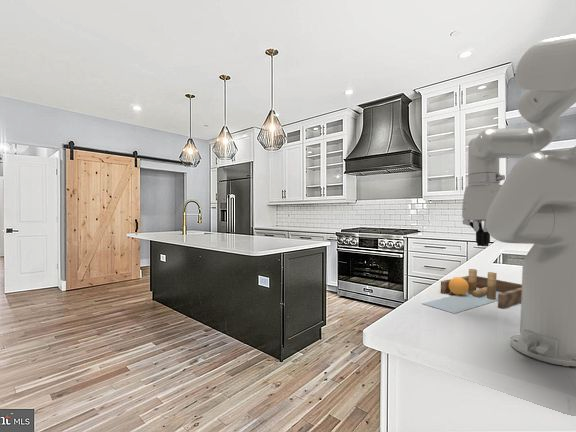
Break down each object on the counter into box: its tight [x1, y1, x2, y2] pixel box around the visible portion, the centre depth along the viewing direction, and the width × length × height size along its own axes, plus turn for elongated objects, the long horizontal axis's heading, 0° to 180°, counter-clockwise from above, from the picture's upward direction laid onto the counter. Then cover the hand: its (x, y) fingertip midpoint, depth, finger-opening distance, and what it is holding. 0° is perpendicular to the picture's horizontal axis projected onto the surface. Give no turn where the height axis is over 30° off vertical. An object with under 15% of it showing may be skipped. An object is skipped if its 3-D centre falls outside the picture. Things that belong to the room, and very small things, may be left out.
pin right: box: [487, 271, 498, 300], centre depth 101 cm, size 2×2×8 cm
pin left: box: [467, 268, 478, 295], centre depth 106 cm, size 2×2×8 cm
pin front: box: [472, 287, 487, 297], centre depth 105 cm, size 2×2×8 cm
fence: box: [440, 275, 522, 309], centre depth 105 cm, size 20×20×4 cm
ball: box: [449, 276, 469, 295], centre depth 106 cm, size 6×6×6 cm
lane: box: [421, 291, 502, 314], centre depth 100 cm, size 36×10×1 cm, turn 122°
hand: (482, 245), depth 88 cm, fingers closed
